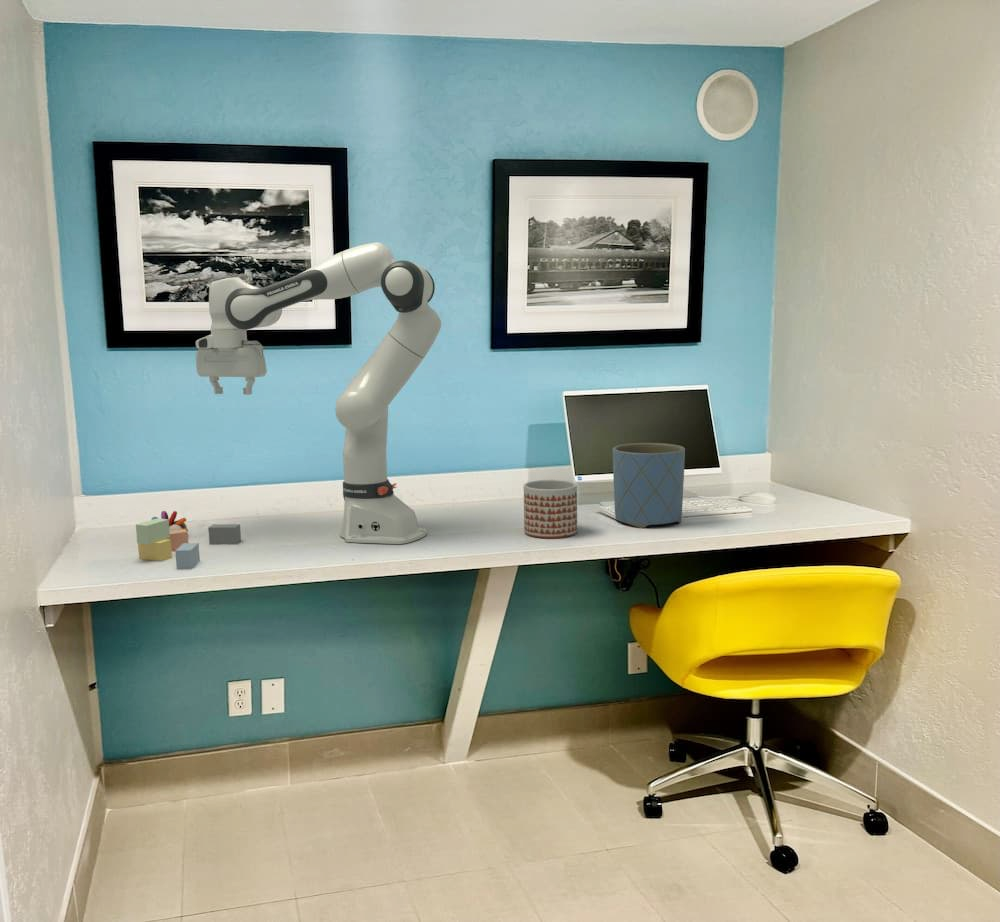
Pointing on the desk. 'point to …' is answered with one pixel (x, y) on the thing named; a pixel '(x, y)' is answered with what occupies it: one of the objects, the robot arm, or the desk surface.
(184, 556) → the slate brick
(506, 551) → the desk surface
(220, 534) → the charcoal brick
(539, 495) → the vase
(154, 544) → the ochre brick
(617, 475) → the planter
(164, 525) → the sage brick
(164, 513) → the multicolored fanned-prong toy
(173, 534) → the terracotta brick
